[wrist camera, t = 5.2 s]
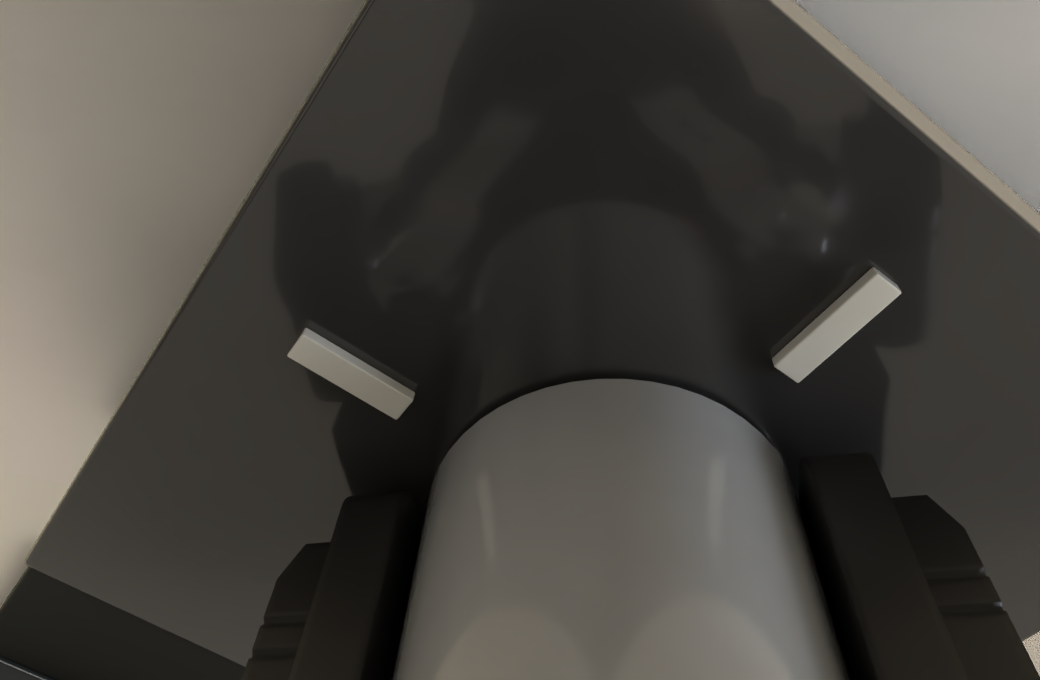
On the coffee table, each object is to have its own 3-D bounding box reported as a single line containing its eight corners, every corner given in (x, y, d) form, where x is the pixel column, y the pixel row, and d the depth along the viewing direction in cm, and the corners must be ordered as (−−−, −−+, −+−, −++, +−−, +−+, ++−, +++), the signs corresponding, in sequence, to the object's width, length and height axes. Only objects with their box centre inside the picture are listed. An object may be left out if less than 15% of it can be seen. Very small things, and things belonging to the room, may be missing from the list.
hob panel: (117, 424, 14) (14, 574, 12) (524, -233, 9) (503, -229, 7) (645, 703, 18) (657, 871, 15) (1168, 324, 12) (1327, 479, 10)
